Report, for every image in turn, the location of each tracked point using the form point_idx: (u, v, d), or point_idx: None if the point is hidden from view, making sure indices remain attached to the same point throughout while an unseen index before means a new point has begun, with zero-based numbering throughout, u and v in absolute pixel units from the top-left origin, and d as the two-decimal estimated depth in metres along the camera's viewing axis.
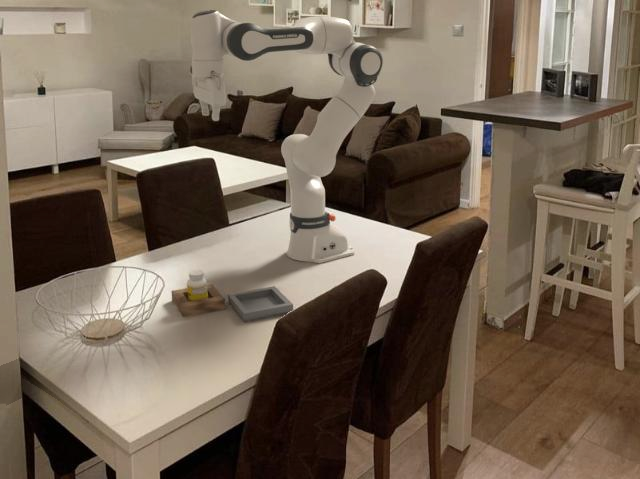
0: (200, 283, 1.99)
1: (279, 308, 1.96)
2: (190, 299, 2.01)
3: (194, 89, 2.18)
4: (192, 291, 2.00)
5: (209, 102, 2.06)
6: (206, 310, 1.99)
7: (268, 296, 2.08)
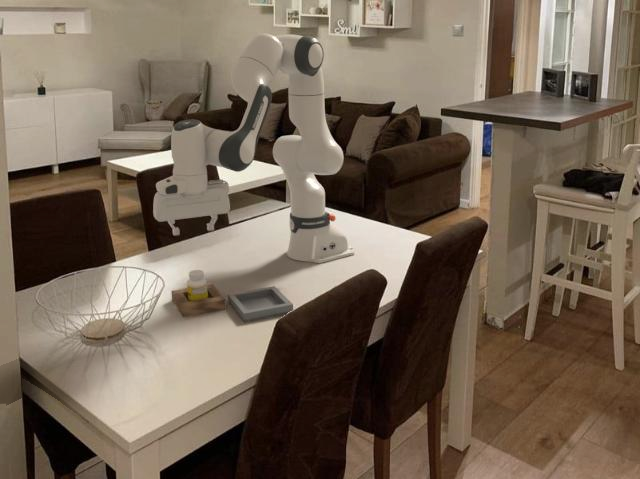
0: (200, 283, 1.99)
1: (279, 308, 1.96)
2: (190, 299, 2.01)
3: (161, 212, 1.89)
4: (192, 291, 2.00)
5: (214, 212, 1.96)
6: (206, 310, 1.99)
7: (268, 296, 2.08)
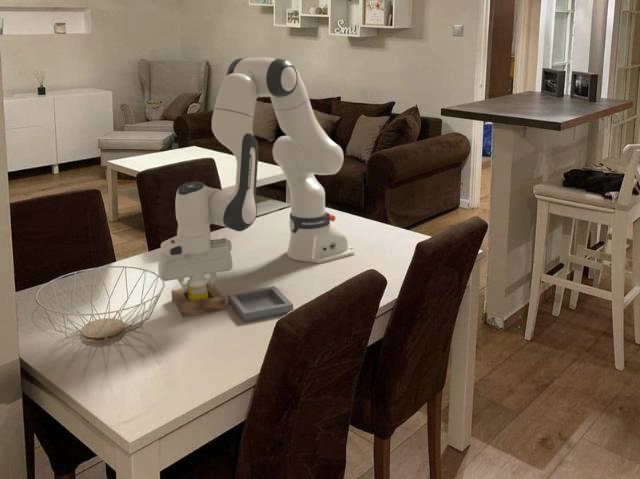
0: (200, 283, 1.99)
1: (279, 308, 1.96)
2: (190, 299, 2.01)
3: (166, 272, 1.95)
4: (192, 291, 2.00)
5: (217, 270, 2.01)
6: (206, 310, 1.99)
7: (268, 296, 2.08)
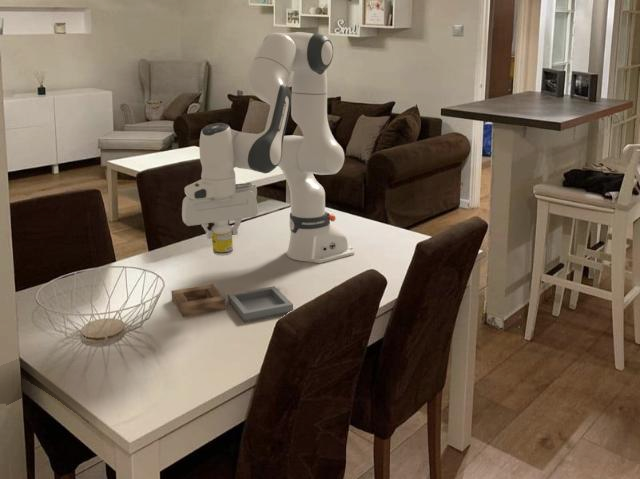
0: (225, 229, 1.94)
1: (279, 308, 1.96)
2: (214, 246, 1.96)
3: (190, 216, 1.89)
4: (216, 238, 1.94)
5: (243, 216, 1.95)
6: (206, 310, 1.99)
7: (268, 296, 2.08)
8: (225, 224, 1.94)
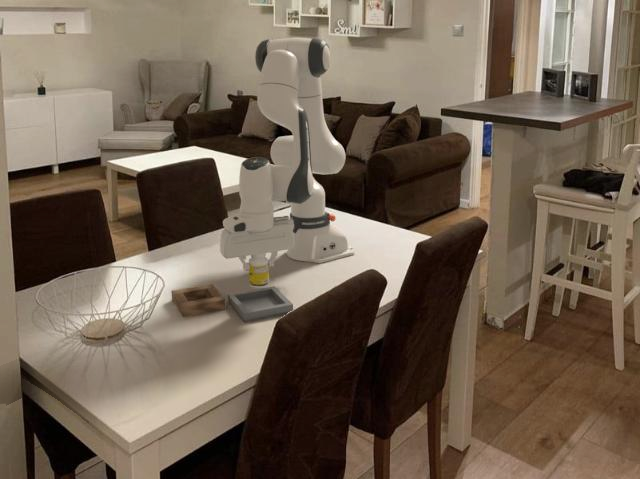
0: (262, 262, 1.95)
1: (279, 308, 1.96)
2: (251, 278, 1.97)
3: (229, 249, 1.91)
4: (254, 270, 1.96)
5: (279, 248, 1.97)
6: (206, 310, 1.99)
7: (268, 296, 2.08)
8: (262, 257, 1.95)
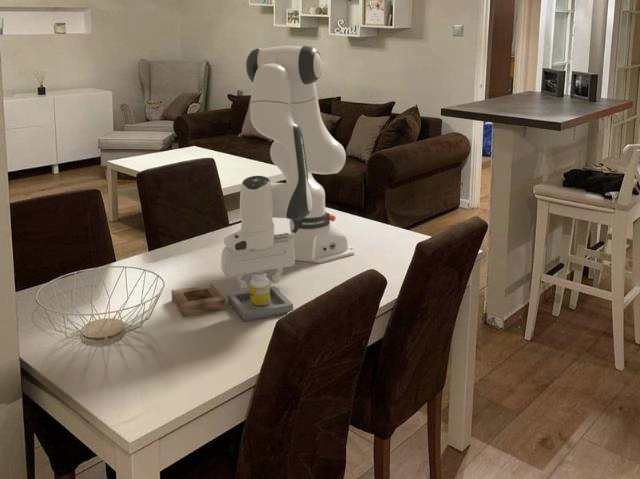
0: (263, 284, 1.97)
1: (279, 308, 1.96)
2: (253, 299, 1.99)
3: (230, 267, 1.92)
4: (255, 292, 1.98)
5: (280, 265, 1.99)
6: (206, 310, 1.99)
7: None
8: (263, 278, 1.98)
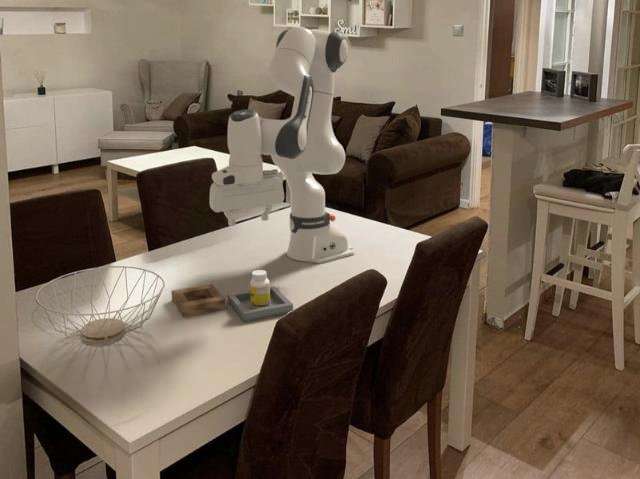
0: (263, 284, 1.97)
1: (279, 308, 1.96)
2: (253, 299, 1.99)
3: (218, 202, 1.90)
4: (255, 291, 1.98)
5: (269, 202, 1.96)
6: (206, 310, 1.99)
7: None
8: (264, 278, 1.98)
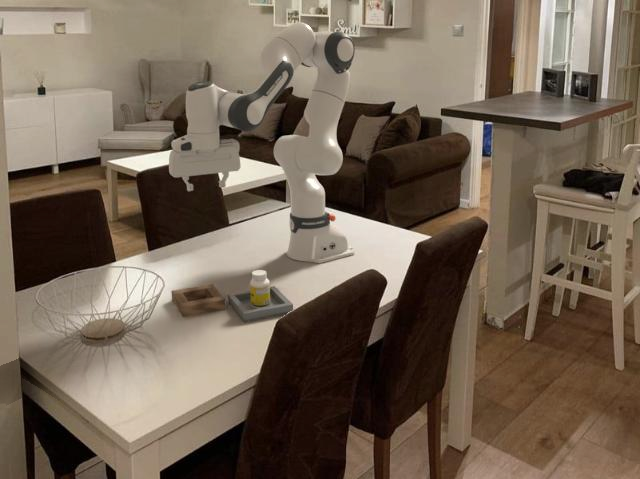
0: (263, 284, 1.97)
1: (279, 308, 1.96)
2: (253, 299, 1.99)
3: (177, 168, 2.02)
4: (255, 291, 1.98)
5: (226, 169, 2.08)
6: (206, 310, 1.99)
7: None
8: (264, 278, 1.98)
